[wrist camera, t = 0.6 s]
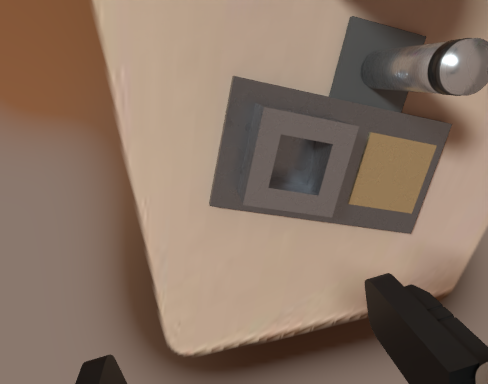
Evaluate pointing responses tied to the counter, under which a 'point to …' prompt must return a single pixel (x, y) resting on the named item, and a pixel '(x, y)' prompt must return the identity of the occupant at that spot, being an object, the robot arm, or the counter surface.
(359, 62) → the mat
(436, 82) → the silver domed cylinder
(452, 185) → the counter surface
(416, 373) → the robot arm
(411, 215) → the plate
